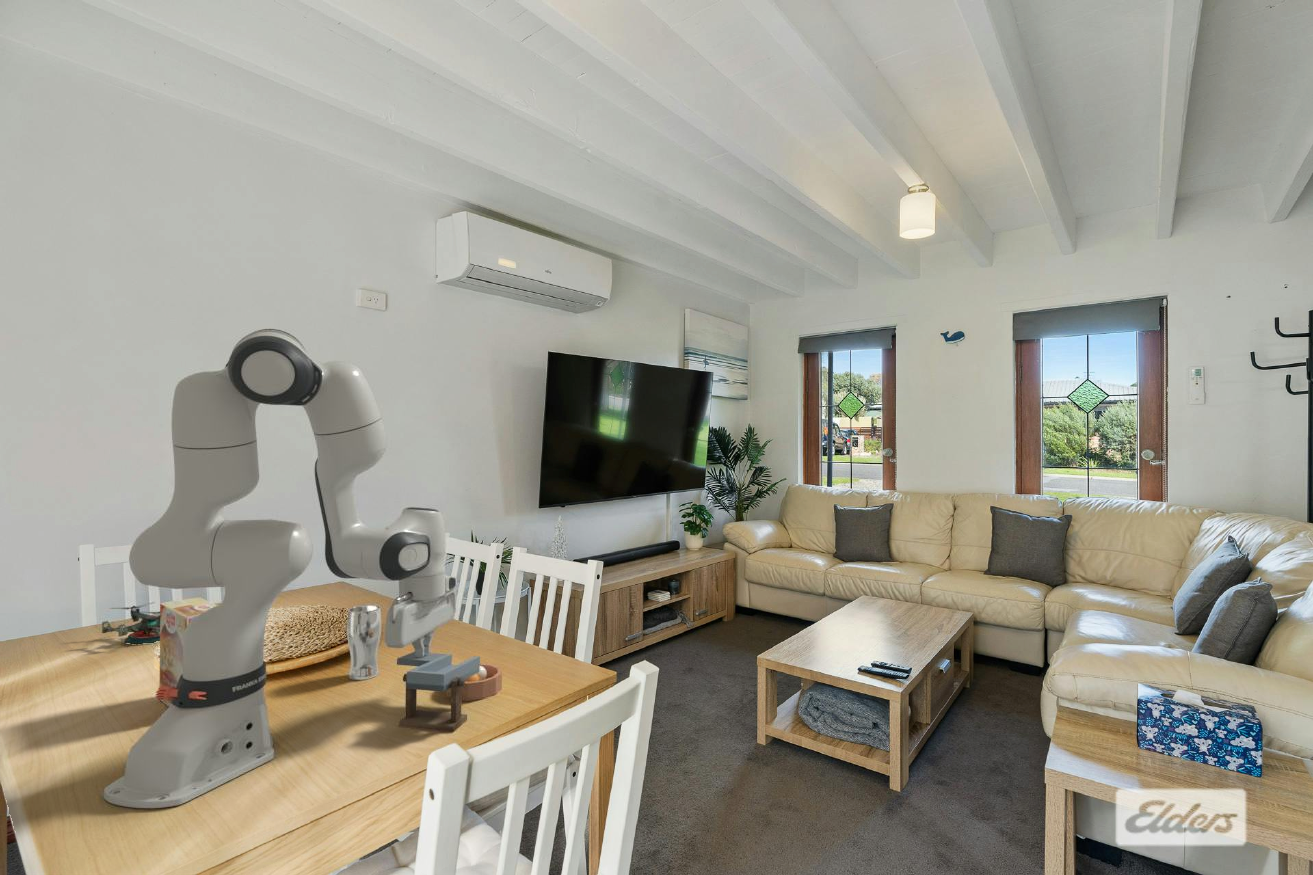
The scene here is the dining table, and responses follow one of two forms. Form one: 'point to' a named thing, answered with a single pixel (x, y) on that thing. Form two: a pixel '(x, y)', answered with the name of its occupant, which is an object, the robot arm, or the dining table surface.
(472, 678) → the orange ball
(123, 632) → the toy helicopter
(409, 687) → the tipping trough
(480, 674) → the cream ball
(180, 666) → the coffeecake box
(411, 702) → the trough stand
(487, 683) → the round terracotta tray
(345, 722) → the dining table surface
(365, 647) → the beer glass
